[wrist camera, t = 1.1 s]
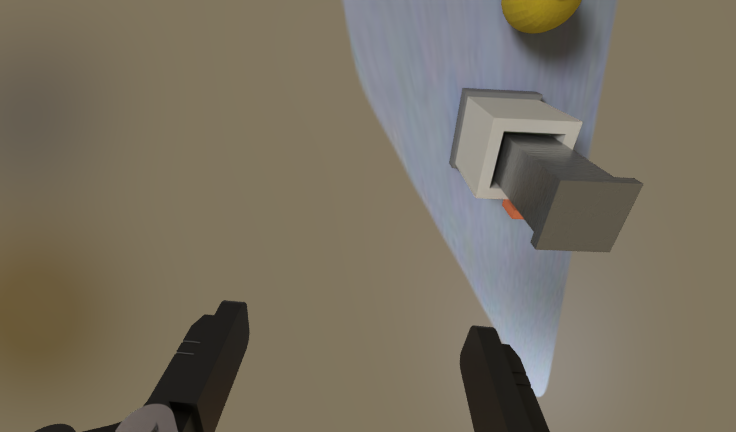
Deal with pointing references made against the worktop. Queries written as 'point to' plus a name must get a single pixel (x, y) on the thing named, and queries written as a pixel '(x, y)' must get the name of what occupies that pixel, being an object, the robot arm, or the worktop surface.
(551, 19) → the lemon
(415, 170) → the worktop surface
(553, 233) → the column
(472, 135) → the stand
